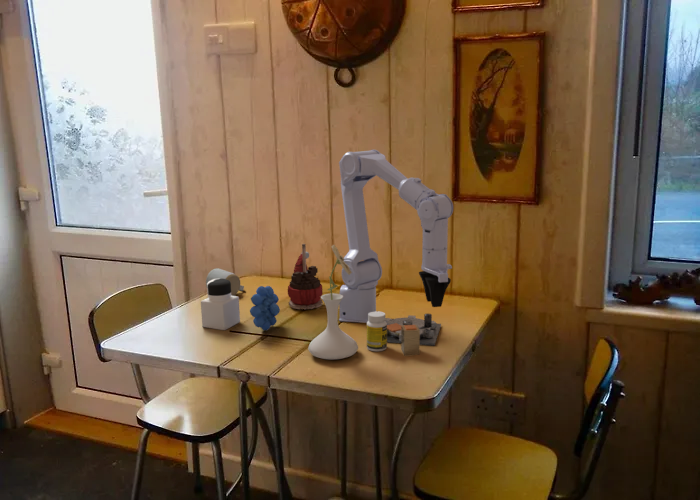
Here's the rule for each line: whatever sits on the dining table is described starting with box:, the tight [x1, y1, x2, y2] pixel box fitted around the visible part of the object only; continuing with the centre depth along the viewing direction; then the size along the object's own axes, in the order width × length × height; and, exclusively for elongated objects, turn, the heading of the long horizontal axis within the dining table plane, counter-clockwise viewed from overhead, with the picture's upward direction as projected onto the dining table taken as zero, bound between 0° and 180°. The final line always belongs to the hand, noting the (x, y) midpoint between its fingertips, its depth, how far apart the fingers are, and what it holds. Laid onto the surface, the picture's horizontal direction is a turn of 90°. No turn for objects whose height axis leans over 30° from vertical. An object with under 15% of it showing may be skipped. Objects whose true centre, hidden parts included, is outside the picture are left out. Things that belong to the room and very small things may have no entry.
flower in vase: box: [307, 244, 359, 361], centre depth 147 cm, size 13×11×25 cm
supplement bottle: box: [366, 310, 388, 352], centre depth 151 cm, size 5×5×8 cm
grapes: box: [249, 285, 281, 331], centre depth 163 cm, size 12×7×12 cm, turn 155°
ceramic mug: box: [205, 267, 245, 296], centre depth 196 cm, size 11×8×8 cm
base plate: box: [387, 322, 442, 347], centre depth 161 cm, size 15×14×1 cm
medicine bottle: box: [200, 279, 241, 331], centre depth 169 cm, size 7×7×12 cm
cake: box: [287, 243, 324, 310], centre depth 182 cm, size 11×9×18 cm
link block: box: [400, 325, 420, 357], centre depth 149 cm, size 4×4×6 cm
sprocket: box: [385, 313, 437, 341], centre depth 161 cm, size 14×15×4 cm
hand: (434, 303), depth 154 cm, fingers open, 4 cm apart
